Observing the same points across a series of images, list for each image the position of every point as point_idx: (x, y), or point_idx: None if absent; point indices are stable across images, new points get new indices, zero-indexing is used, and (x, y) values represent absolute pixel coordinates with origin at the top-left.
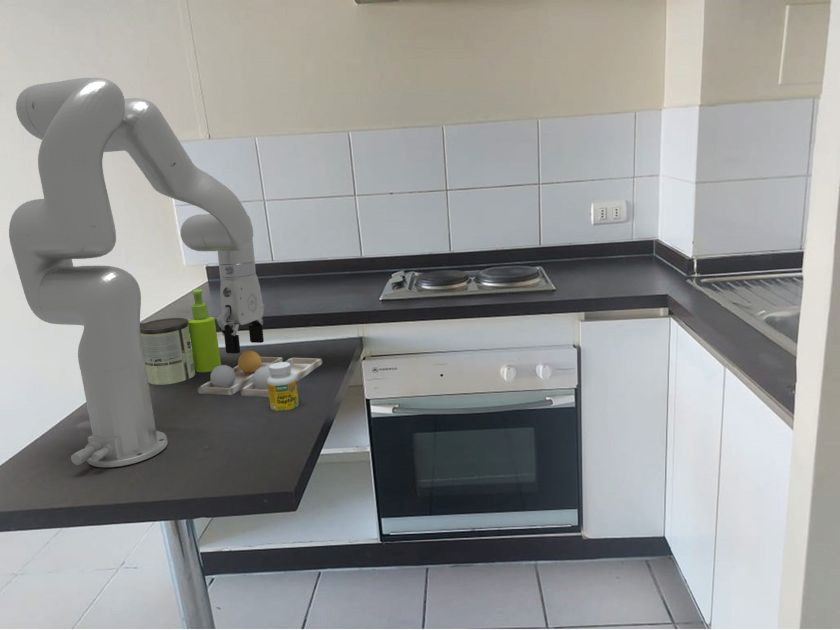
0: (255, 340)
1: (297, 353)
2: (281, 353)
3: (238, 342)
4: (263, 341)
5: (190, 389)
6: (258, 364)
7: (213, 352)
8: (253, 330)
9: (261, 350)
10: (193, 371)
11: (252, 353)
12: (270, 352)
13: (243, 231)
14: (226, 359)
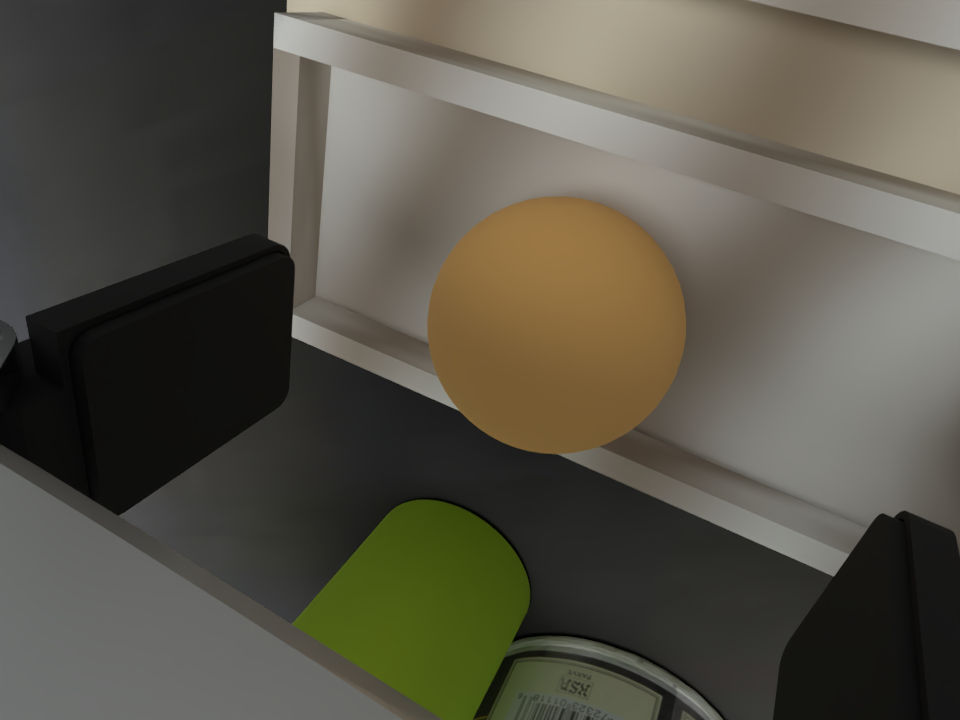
0: (275, 345)
1: (13, 11)
2: (43, 153)
3: (954, 663)
4: (259, 235)
5: (771, 672)
6: (613, 212)
7: (404, 661)
8: (158, 427)
9: (30, 308)
10: (577, 704)
11: (556, 319)
12: (45, 241)
13: None
14: (197, 486)
